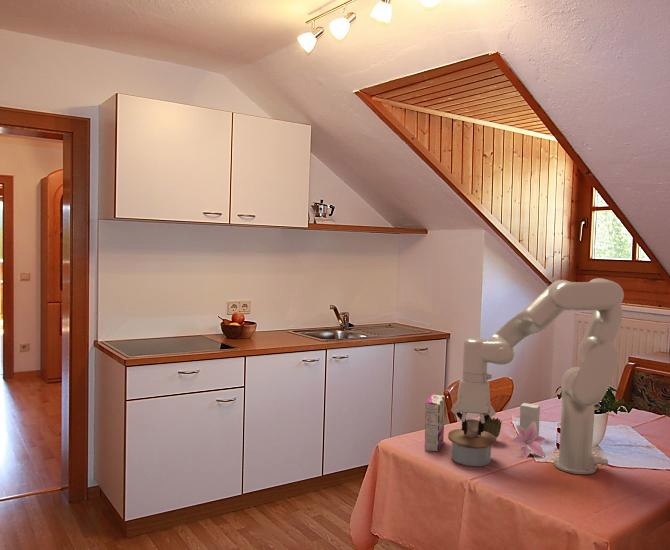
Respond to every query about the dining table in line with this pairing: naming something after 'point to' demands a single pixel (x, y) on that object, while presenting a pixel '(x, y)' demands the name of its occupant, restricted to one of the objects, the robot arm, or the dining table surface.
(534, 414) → the skincare box
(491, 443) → the lid
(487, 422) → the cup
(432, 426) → the candy bar box
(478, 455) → the bowl
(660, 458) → the dining table surface
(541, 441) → the lily
